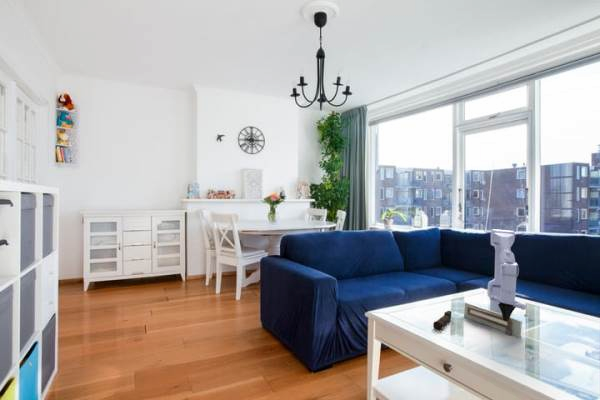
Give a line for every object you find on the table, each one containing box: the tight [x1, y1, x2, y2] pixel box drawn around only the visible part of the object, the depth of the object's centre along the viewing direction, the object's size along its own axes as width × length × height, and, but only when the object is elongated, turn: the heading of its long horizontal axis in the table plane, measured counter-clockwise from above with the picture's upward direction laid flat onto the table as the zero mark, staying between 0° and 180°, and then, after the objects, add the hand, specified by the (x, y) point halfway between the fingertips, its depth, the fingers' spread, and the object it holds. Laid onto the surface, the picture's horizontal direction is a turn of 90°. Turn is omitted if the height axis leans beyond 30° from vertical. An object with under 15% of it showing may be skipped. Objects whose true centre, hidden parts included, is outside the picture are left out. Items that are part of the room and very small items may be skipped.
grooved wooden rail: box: [467, 306, 512, 329], centre depth 155 cm, size 1×20×4 cm, turn 30°
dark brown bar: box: [432, 310, 452, 331], centre depth 155 cm, size 19×4×5 cm, turn 137°
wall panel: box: [463, 301, 523, 338], centre depth 155 cm, size 4×26×7 cm, turn 30°
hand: (506, 320), depth 148 cm, fingers closed, pressing on grooved wooden rail
